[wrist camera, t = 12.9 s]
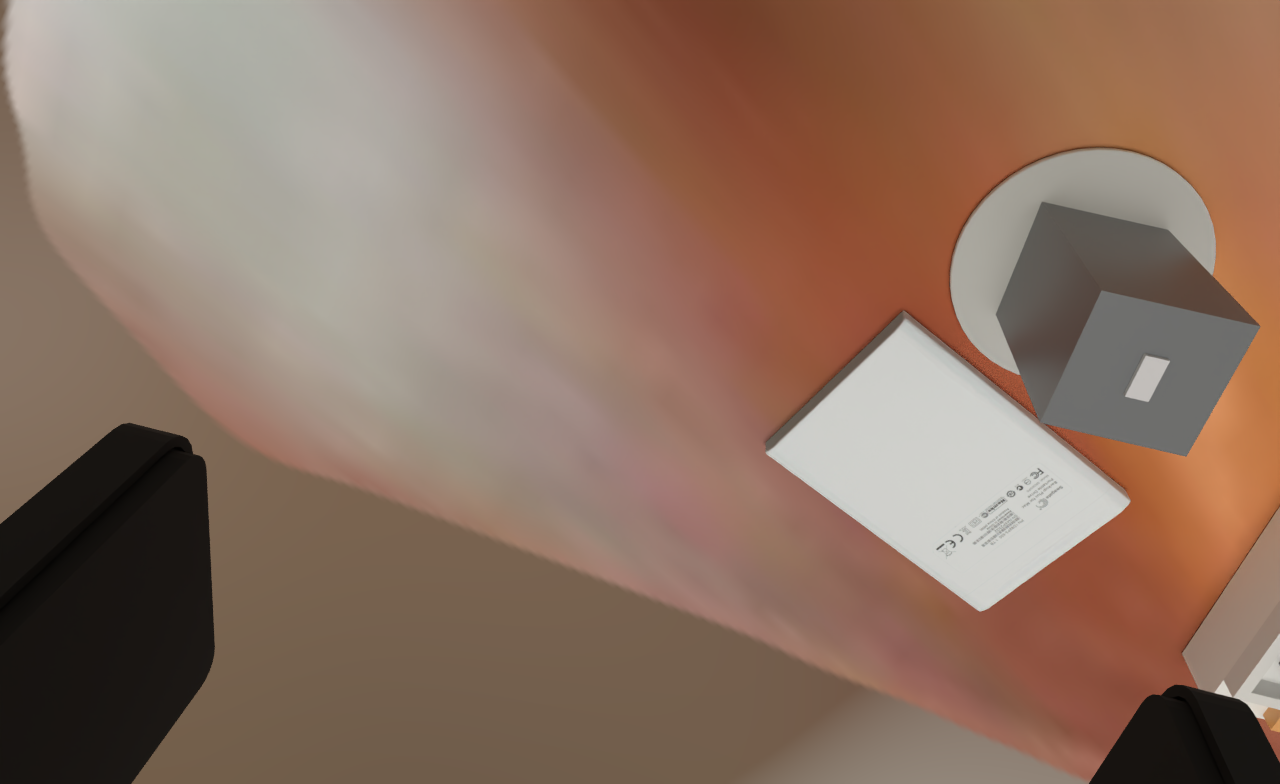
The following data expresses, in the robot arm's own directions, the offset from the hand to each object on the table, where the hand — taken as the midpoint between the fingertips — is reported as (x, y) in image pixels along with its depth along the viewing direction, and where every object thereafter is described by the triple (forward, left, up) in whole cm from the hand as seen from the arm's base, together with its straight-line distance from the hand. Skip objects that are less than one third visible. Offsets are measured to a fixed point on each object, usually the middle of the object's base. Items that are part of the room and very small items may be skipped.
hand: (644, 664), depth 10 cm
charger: (+4, +13, -28) cm, 31 cm away
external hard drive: (+14, +11, -29) cm, 34 cm away
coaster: (+4, +13, -28) cm, 31 cm away
